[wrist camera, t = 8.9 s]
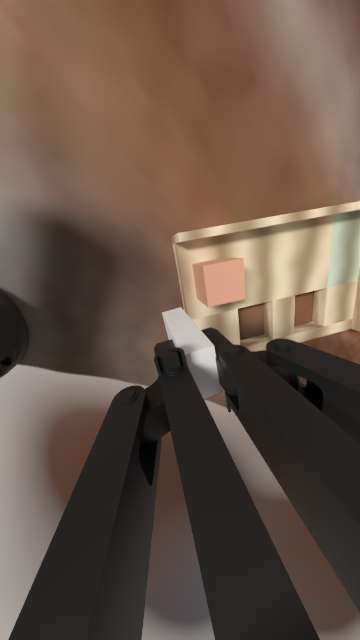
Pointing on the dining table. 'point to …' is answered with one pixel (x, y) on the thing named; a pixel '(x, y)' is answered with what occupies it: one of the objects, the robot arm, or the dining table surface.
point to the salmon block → (219, 281)
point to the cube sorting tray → (280, 272)
